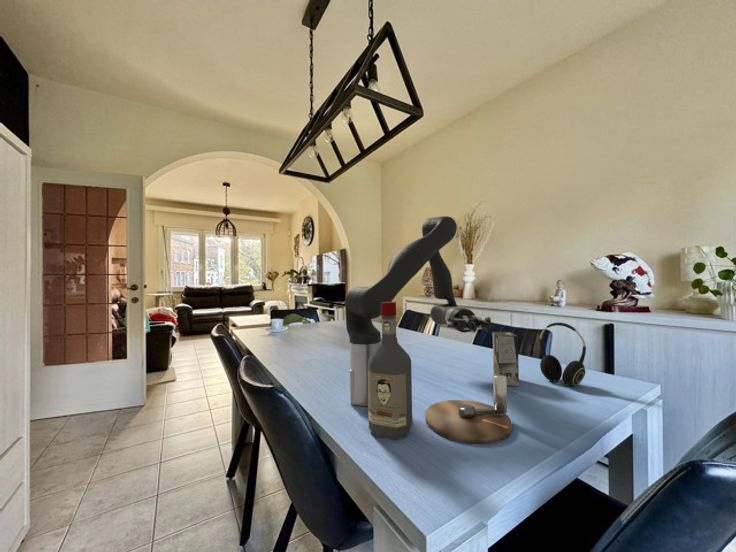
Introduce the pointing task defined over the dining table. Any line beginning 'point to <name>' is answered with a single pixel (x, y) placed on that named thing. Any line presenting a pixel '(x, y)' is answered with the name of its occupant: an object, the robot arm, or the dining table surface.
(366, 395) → the robot arm
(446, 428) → the round wooden board
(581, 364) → the headphones
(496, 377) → the silver bent piece
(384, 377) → the liquor
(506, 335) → the coffee box
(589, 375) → the dining table surface
